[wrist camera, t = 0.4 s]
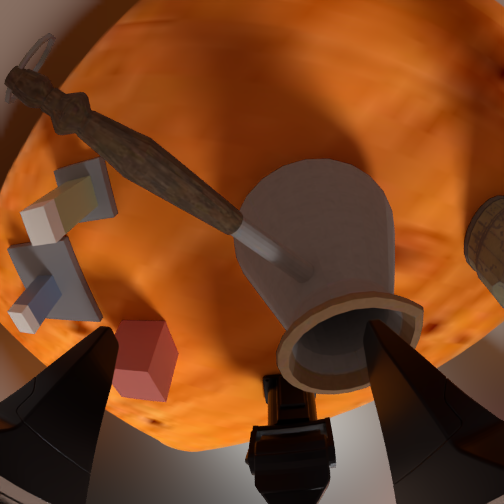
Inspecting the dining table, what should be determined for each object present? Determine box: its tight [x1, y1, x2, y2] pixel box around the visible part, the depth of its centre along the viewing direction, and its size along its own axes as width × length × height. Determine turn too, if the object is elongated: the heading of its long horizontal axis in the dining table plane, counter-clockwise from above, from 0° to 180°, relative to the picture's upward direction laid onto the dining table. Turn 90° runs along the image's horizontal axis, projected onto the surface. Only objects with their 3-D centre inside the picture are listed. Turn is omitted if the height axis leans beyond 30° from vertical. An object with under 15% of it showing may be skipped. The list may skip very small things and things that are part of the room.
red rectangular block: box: [112, 320, 179, 402], centre depth 27 cm, size 5×5×7 cm
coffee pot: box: [5, 33, 424, 394], centre depth 14 cm, size 21×12×15 cm, turn 42°
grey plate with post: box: [7, 237, 103, 334], centre depth 23 cm, size 10×10×7 cm
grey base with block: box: [20, 156, 118, 246], centre depth 18 cm, size 5×5×7 cm
